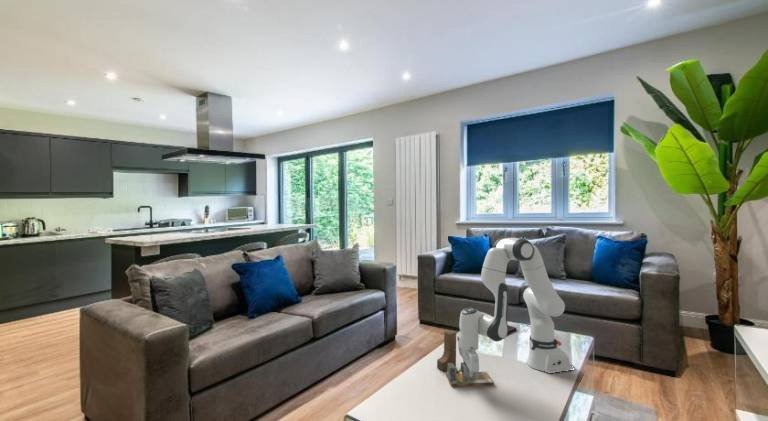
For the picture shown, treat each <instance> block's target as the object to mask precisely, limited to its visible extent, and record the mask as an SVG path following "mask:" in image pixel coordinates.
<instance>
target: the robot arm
mask: <svg viewBox="0 0 768 421" xmlns="http://www.w3.org/2000/svg"><path fill="white" fill-rule="evenodd" d="M510 261H519V264H520V267H521V271H522V275H523V278H524V281H525V283H526V285H527V286H528V287H526V289H525V290H523V295H522V298H523V300H524V302H525V304H526V306H527V310H528V315H529V319H530V335H529V343H528V344H529V351H528V356H527V360H526V364H527V366H529V367H531V368H532V369H534V370H537V371H541V372H544V371H545V373H547V372H548V374H549V373H554V374H556V373H555V372H560V373H562V372H561V371H566V370H570V369H573V368H575V366H574V364H573V363H572V362H570V357H569V355H568V354H567V353H566V352H565V351H564V350H563V349H561V348H560V347H561V346H562V341H560V340H557V339H556V338H555V323H554V321H553V319H552V317H554V318H557V317H560V316H561V315H562V314H563V313H564V312H565V310H566V309H565V308H566V304H565V302H564V301H563V299H562V298H561V297H560V296H559V294H558V293H557V291H556V289H555V288H554V286H553V283H552V281H551V280H550V278H549V276H548V272H547V269H546V266H545V263H544V259H543V257H542V254H541V253H540V250H539V248H538V247H537V246H536V245H534V244H532V242H531V241H529V240H527V239H525V238H518V237H501V238H498V239H497V240H496V241H495V242H494V244H493V247H491V248H489V249H488V250H487V253H486V255H485V258H484V261H483V263H482V268H481V273H480V274H481V275H480V278H481V282H482V283H483V285H484V286H485V287H486V288H487V289H488V290H489V291H491V293H492V294H493V297H494V300H495V303H494V316H492V315H490V314H488V313H486V312H483V311H479V310H478V309H476V308H474V307H466V308H464V309H462V310H461V312H460V316H459V335H457V336H456V341H458V343H457V344H458V353H459V355H460V357H461V358H462V360H463V362H465V363H466V365H467V366H468V368H469V371H468V375H469V376H470V377H471V376H473V372H480V360H479V359H480V358H479V355H478V353H477V352H476V351H477V350H478V349H479V334H480V335H483V336H484V337H487V338H488V339H490V340H492V341H493V342H495V343H496V342H500V341H502V340H504V339H506V337H507V336H508V335H507V333H508V309H509V287H508V286H507V281H506V274H507V267H508V263H509V262H510ZM572 366H573V367H572Z"/></svg>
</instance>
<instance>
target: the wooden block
mask: <svg viewBox="0 0 768 421" xmlns="http://www.w3.org/2000/svg"><path fill="white" fill-rule="evenodd" d="M443 334H444V335H443V338H444V339H443V354H442V355H441V357H439V358H437V360H436V362H437V363H436V369H438V370H439V371H442V372H447V368H448V363H453V364H454V366H455V368H457V364H456V363H457V332H456V331H454V330H451V329H450V330H446V331H444V332H443Z"/></svg>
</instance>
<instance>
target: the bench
mask: <svg viewBox="0 0 768 421" xmlns="http://www.w3.org/2000/svg"><path fill="white" fill-rule="evenodd" d="M456 368H457V367H455V366H454V364H453V363H448V368H447V370H446V373H445V376H446V379H447V381H448V383H449V385H450V386H451V388H457V387H458V388H459V387H465V388H466V387H488V386H489V387H492V386H495V381H494V380H493V378H492V377H491V376H490V374H489V373H488V371H479V372H477V378H476V380H468V382H465V381H464V380H463V378H462V382H460V381H459V374H457V369H456Z"/></svg>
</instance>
